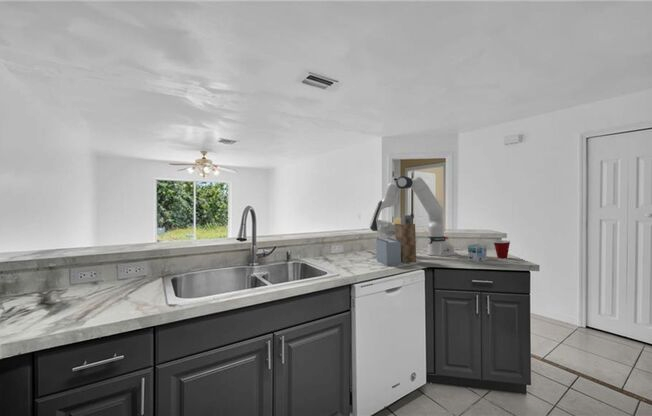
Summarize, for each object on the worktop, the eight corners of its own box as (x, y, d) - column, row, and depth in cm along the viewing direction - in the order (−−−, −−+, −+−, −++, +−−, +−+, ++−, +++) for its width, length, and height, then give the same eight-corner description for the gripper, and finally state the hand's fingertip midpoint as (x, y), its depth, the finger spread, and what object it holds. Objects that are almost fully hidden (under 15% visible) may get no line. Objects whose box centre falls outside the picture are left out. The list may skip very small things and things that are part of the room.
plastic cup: (491, 256, 207) (491, 239, 206) (508, 256, 203) (508, 239, 203) (494, 259, 196) (494, 241, 196) (513, 259, 193) (512, 241, 193)
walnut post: (409, 259, 204) (408, 223, 204) (416, 262, 194) (415, 224, 194) (396, 260, 202) (395, 223, 202) (402, 263, 192) (401, 224, 192)
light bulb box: (477, 262, 188) (476, 245, 188) (467, 260, 194) (467, 244, 194) (487, 260, 193) (486, 244, 193) (477, 258, 199) (477, 243, 199)
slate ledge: (389, 259, 205) (389, 237, 205) (401, 264, 188) (400, 240, 187) (376, 260, 203) (376, 238, 203) (386, 265, 186) (386, 241, 186)
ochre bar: (398, 222, 213) (398, 214, 213) (411, 224, 193) (411, 215, 193) (392, 222, 212) (392, 214, 212) (404, 224, 192) (404, 215, 192)
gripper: (375, 228, 226) (380, 220, 214) (399, 227, 230) (405, 219, 218) (377, 235, 223) (382, 228, 211) (401, 234, 227) (408, 226, 215)
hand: (394, 223), depth 215 cm, fingers open, 8 cm apart
